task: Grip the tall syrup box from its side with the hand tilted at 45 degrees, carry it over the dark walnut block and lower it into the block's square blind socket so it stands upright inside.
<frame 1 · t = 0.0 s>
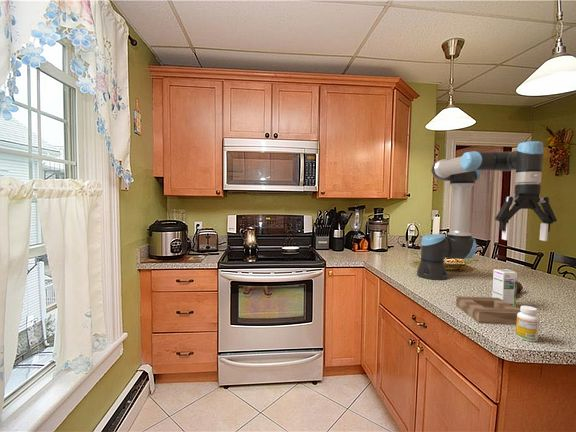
hand: (524, 240, 110), 28 cm above the counter, tool pointing down, fingers open, 13 cm apart
socket block: (488, 314, 109), on the counter
supplement bottle: (526, 338, 91), on the counter
bolt: (511, 295, 132), on the counter
syrup box: (503, 305, 119), on the counter
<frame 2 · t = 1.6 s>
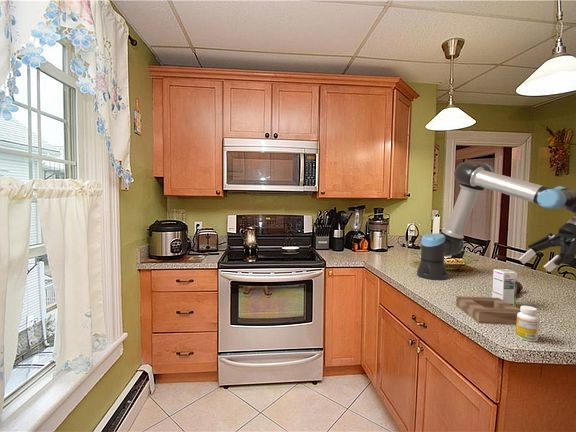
hand: (533, 265, 117), 17 cm above the counter, tool tilted 45°, fingers open, 13 cm apart
nothing on the counter moved.
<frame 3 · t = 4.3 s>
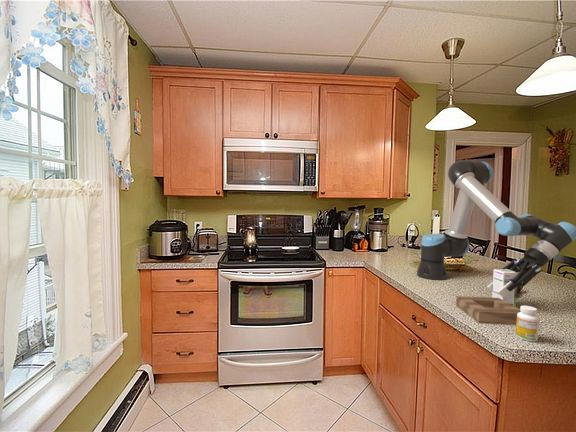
hand: (494, 291, 119), 5 cm above the counter, tool tilted 45°, fingers closed on syrup box, 6 cm apart
syrup box: (503, 305, 119), on the counter, touching gripper
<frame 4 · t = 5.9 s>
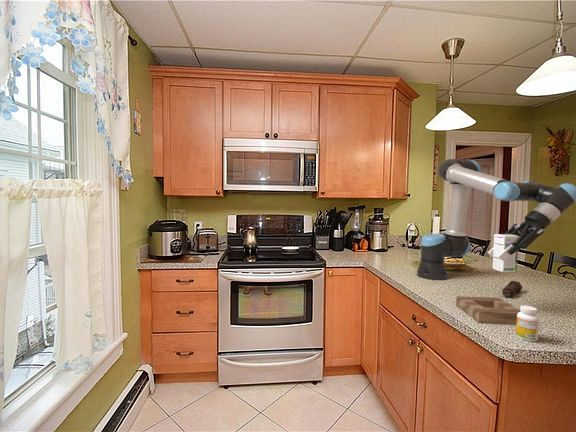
hand: (495, 256, 116), 20 cm above the counter, tool tilted 45°, fingers closed on syrup box, 6 cm apart
syrup box: (504, 270, 116), point 15 cm above the counter, touching gripper
everything else where it was.
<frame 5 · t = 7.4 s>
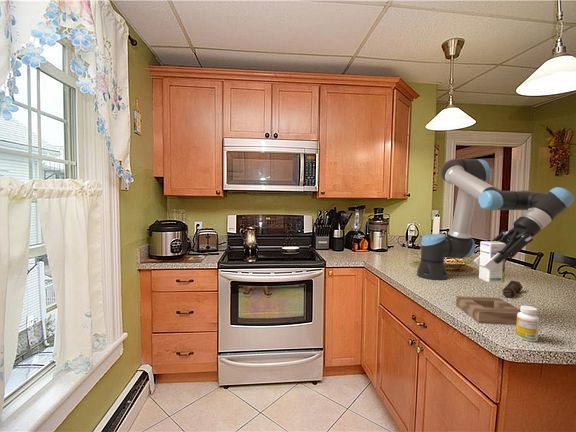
hand: (481, 265, 108), 19 cm above the counter, tool tilted 45°, fingers closed on syrup box, 6 cm apart
syrup box: (490, 280, 109), point 13 cm above the counter, touching gripper
when the fingers open (8 cm above the counter, at t = 10.0 s): syrup box drops 1 cm, resting on socket block.
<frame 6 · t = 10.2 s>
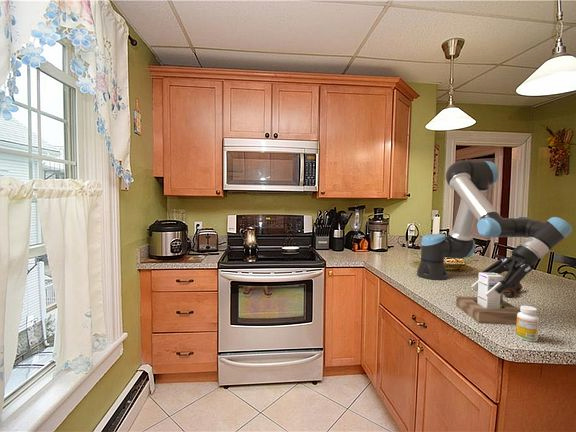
hand: (480, 292, 109), 8 cm above the counter, tool tilted 45°, fingers open, 8 cm apart
syrup box: (488, 312, 110), point 1 cm above the counter, touching socket block
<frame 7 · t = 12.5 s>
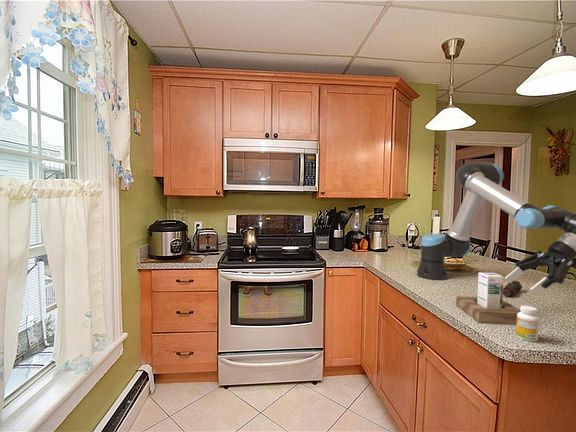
hand: (519, 286, 109), 11 cm above the counter, tool tilted 45°, fingers open, 13 cm apart
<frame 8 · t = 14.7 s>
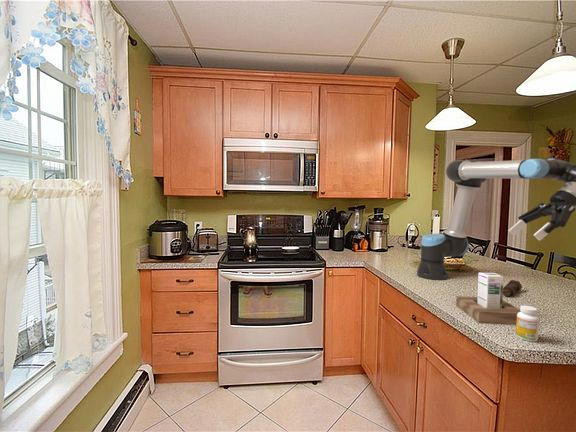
hand: (522, 235, 111), 30 cm above the counter, tool tilted 45°, fingers open, 13 cm apart
at the end: syrup box 0.4 cm off-centre on the socket block, point 0.8 cm above the socket block's base; syrup box tilted 0°; the gripper is holding nothing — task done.
